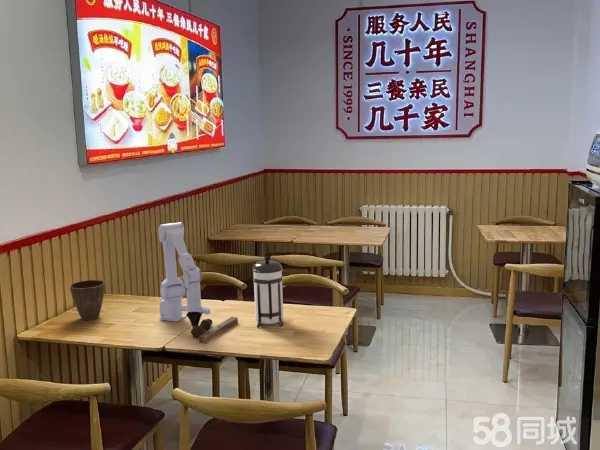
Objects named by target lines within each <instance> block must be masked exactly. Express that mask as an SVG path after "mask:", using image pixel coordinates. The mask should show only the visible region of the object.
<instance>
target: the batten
mask: <svg viewBox="0 0 600 450" xmlns="http://www.w3.org/2000/svg"><path fill="white" fill-rule="evenodd" d="M238 319H239V318H238V316H237V317H236V316H230V317H229V318H227V319H225V320H223V321H222V322H220V323H219V324H217V325H215V326H213V327H212V328H210V329H209V330H206V331H205V333H204V334H202V335H201V336H199V338H198V343H199V344H207V343H208V342H211V341H212V340H213V339H215V338H216V337H218V336H219V335H221V334H223V333H224V332H226V331H227V330H228V329H231V328H232V327H233V326H235V325H237V324H238V322H239V320H238Z"/></svg>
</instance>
